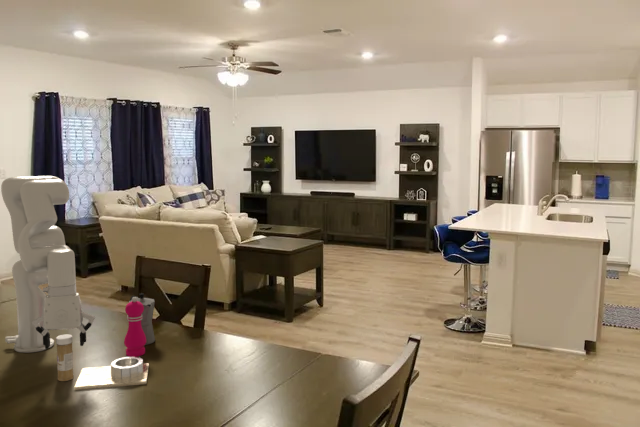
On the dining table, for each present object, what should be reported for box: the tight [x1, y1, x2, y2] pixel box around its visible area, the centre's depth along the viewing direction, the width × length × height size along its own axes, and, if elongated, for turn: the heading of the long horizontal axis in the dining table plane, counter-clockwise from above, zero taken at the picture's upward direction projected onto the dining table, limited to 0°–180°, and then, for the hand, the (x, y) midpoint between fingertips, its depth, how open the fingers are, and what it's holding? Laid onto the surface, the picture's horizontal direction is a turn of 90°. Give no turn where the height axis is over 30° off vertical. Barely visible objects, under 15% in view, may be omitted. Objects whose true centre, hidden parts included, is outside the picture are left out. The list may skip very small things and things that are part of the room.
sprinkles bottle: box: [55, 333, 75, 382], centre depth 165 cm, size 5×5×14 cm
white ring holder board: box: [73, 356, 150, 391], centre depth 167 cm, size 20×14×4 cm
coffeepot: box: [128, 292, 156, 346], centre depth 199 cm, size 15×9×18 cm, turn 44°
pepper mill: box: [123, 296, 146, 357], centre depth 186 cm, size 7×7×20 cm
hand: (65, 345), depth 164 cm, fingers open, 9 cm apart
